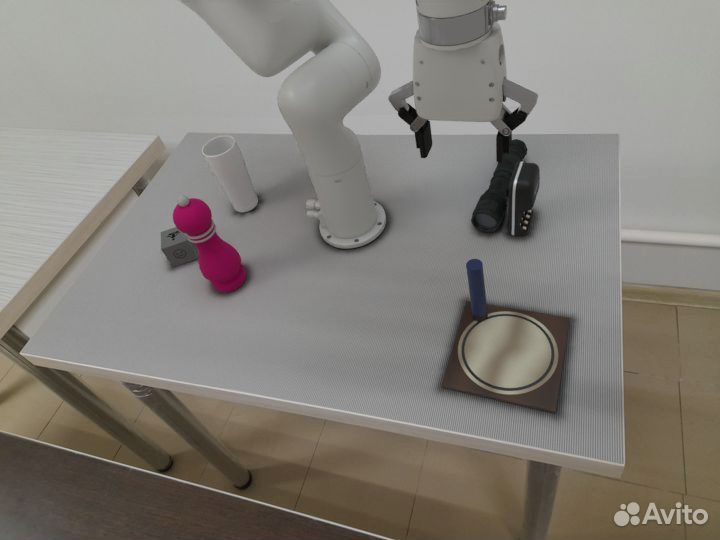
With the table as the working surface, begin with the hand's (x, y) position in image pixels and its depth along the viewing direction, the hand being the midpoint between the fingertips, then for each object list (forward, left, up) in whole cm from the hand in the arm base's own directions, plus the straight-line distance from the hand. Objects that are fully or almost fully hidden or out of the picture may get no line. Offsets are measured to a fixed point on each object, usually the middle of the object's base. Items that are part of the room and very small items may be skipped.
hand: (463, 153), depth 67 cm
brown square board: (+8, -13, -24) cm, 29 cm away
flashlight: (+1, +20, -24) cm, 32 cm away
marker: (+3, -8, -24) cm, 25 cm away
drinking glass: (-49, +10, -24) cm, 56 cm away
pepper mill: (-42, -9, -24) cm, 49 cm away
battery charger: (+6, +13, -24) cm, 28 cm away
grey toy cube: (-55, -5, -24) cm, 60 cm away
